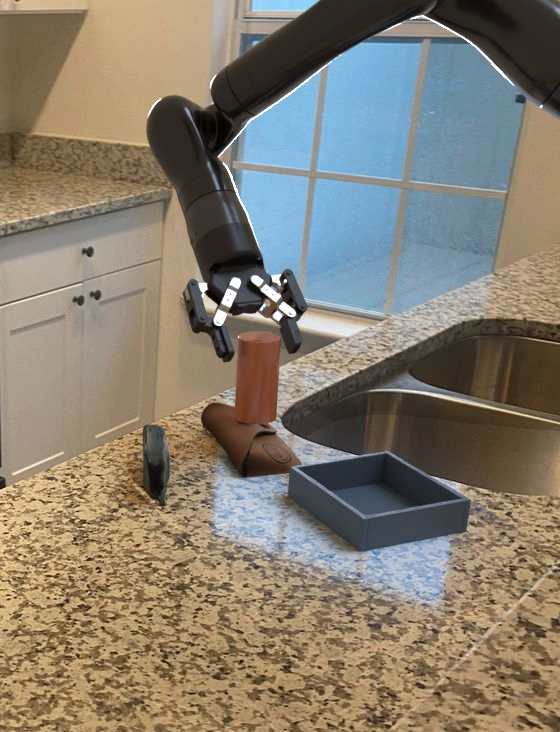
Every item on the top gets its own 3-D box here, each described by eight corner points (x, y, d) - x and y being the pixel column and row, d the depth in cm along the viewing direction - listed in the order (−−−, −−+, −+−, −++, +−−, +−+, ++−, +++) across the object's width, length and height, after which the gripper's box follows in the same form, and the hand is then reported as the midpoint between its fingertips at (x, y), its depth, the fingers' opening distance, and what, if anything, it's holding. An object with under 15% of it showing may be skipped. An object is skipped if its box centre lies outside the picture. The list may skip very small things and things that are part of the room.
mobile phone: (139, 421, 123) (145, 465, 109) (164, 420, 123) (173, 465, 109) (139, 459, 125) (144, 508, 111) (164, 459, 125) (172, 508, 111)
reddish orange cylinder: (263, 408, 127) (268, 329, 123) (283, 421, 123) (289, 339, 118) (227, 413, 126) (230, 333, 121) (246, 426, 121) (250, 344, 117)
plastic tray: (383, 483, 116) (387, 450, 114) (465, 535, 103) (471, 499, 101) (287, 500, 112) (289, 466, 111) (359, 556, 100) (363, 519, 98)
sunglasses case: (312, 471, 118) (287, 426, 115) (260, 504, 119) (233, 461, 116) (262, 419, 134) (238, 379, 131) (216, 449, 135) (192, 410, 132)
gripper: (178, 225, 120) (218, 345, 115) (286, 215, 123) (330, 331, 118) (159, 262, 127) (196, 377, 122) (263, 252, 130) (303, 363, 125)
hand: (262, 354), depth 120 cm, fingers open, 8 cm apart
